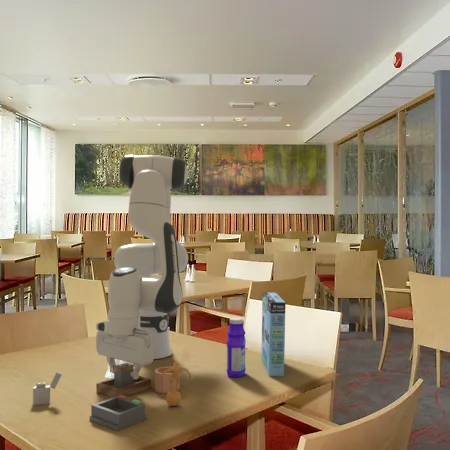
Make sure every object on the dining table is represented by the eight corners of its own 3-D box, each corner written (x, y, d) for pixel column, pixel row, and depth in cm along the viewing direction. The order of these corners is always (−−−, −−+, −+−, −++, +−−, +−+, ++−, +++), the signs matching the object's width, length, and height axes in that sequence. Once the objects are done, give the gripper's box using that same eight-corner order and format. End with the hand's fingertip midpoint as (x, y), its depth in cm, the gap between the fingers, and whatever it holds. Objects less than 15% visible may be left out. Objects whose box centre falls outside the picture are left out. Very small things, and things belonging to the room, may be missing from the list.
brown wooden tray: (96, 392, 145) (96, 383, 145) (129, 381, 155) (129, 373, 155) (118, 399, 140) (118, 390, 140) (150, 387, 149) (150, 379, 149)
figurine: (187, 401, 139) (187, 356, 138) (193, 409, 133) (193, 362, 132) (156, 404, 136) (156, 358, 136) (160, 413, 130) (160, 365, 130)
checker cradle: (89, 420, 126) (89, 403, 125) (118, 409, 133) (118, 393, 133) (117, 430, 119) (117, 413, 119) (146, 418, 127) (146, 402, 126)
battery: (114, 387, 146) (114, 364, 146) (126, 383, 150) (126, 361, 150) (121, 389, 144) (121, 366, 144) (133, 385, 148) (133, 362, 148)
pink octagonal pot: (149, 389, 147) (149, 370, 147) (167, 383, 153) (167, 365, 153) (167, 395, 143) (167, 375, 143) (184, 388, 148) (184, 369, 148)
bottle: (243, 379, 158) (243, 321, 157) (224, 377, 159) (224, 320, 158) (247, 371, 165) (247, 316, 164) (229, 370, 166) (229, 315, 165)
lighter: (32, 405, 135) (32, 374, 135) (33, 402, 137) (33, 372, 137) (61, 402, 137) (61, 372, 137) (62, 400, 139) (62, 370, 139)
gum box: (261, 359, 179) (261, 292, 179) (276, 359, 180) (276, 292, 179) (268, 376, 160) (269, 301, 159) (285, 376, 160) (286, 301, 160)
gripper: (158, 329, 143) (158, 380, 143) (109, 319, 155) (109, 366, 156) (141, 333, 138) (141, 386, 138) (92, 323, 150) (92, 371, 151)
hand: (124, 375), depth 147 cm, fingers open, 7 cm apart
